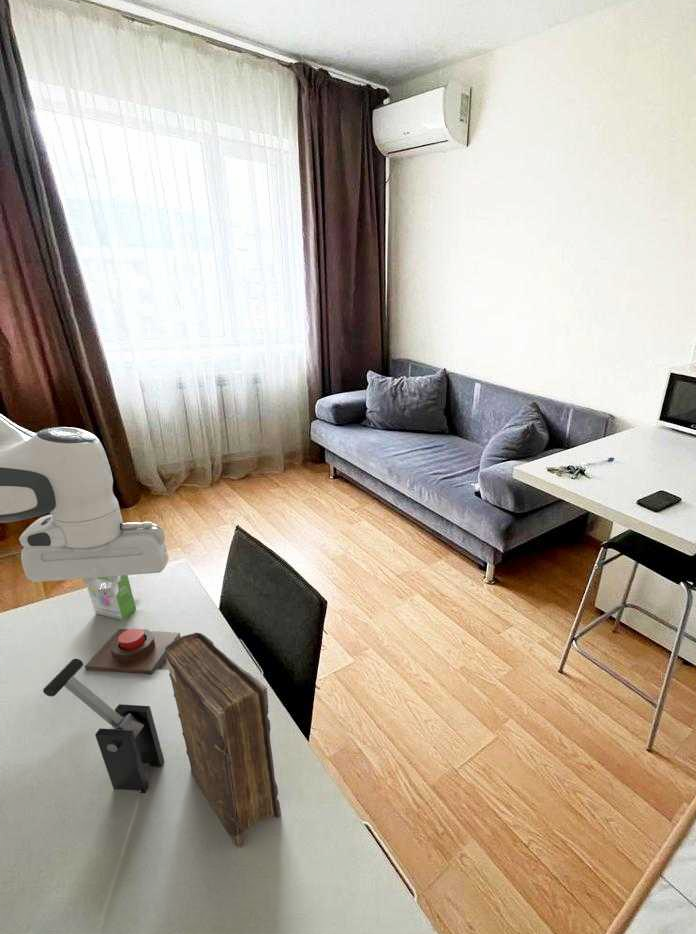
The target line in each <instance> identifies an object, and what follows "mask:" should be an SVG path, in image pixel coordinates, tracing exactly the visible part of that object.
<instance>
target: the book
mask: <svg viewBox="0 0 696 934" xmlns="http://www.w3.org/2000/svg"><path fill="white" fill-rule="evenodd" d="M164 651H165V656H166V660H167V661H166V663H167V664H166V665H167V668H168V672H169V673H168V676H169V678H170V682H171V685H172V686H171V687H172V689H173V697H174V699H175V704H176V707H177V711H178V715H177V716H178V718H179V721H180V725H181V730H182V733H181V734H182V736H183V739H184V744H185V748H186V751H185V752H186V755H187V757H188V760H189V761H188V762H189V765H190V769H191V775H192V777H193V779H194V781H195V783H196V784H197V786H198V788H199V790H200V791H201V792H202V794H203V796H204V798H205V799H206V801H207V802H208V805H209V806H210V808H211V809H212V811H213V812H214V814H215V816H216V817H217V818H218V820H219V822H220V823H221V825H222V826H223V828H224V829H225V830H226V831H225V832H227V834H228V836H229V837H230V838H231V840H232V843H233V844H234V846H235V845H236V847H238V849H240V848H243V847H244V843H243V834H245V832H246V830H249V829H250V828H251V826H253V825H256V823H258V822H260V821H261V820H263V819H266V818H267V817H269V816H271V817H276V819H277V818H280V817H281V816H282V809H281V803H280V801H279V799H278V795H279V788H278V785H277V782H276V776H275V775H276V774H275V765H274V760H273V759H274V758H273V750H272V744H271V721H270V719H269V717H268V716H269V697H268V696H269V695H268V688H267V687H266V686H265V685H264V683H262V682H261V681H260V680H259V679H258V678H257V677H254V676H253V675H252V674H251V673H250V672H249V671H248V672H247V671H246V670H244V669H243V668H242V667H241V666H240V665H238V664H237V663H236V662H234V661H233V659H231V658H230V657H228V656H227V655H226V654H225V653H224V652H223V651H221V650H220V649H219V648H218V647H217V646H216V645H215V644H214V641H212V640H211V639H210V638H208V636H206V635H205V634H203V633H201V632H194V633H189V634H186V635H183V636H181V637H180V638H178V639H176V640H174V641H173V642H172V643H170V644H169V645H167V646H166V647H165V650H164Z"/></svg>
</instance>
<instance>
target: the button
mask: <svg viewBox="0 0 696 934" xmlns="http://www.w3.org/2000/svg"><path fill="white" fill-rule="evenodd" d="M129 629H130V630H127V631H125V632H123V633H122V634H121V635H120V636H119V638H118V640H119V644H120V647H121V649H123V650H131V649H134V648H137V647H139V646H141V645H142V644H143V643H144V642H145V637H144V633H143V630H141V629H142V628H137V627H136V628H129Z"/></svg>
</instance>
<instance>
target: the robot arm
mask: <svg viewBox="0 0 696 934" xmlns="http://www.w3.org/2000/svg"><path fill="white" fill-rule="evenodd" d="M113 486H114V478H113V474H112V469H111V465H110V463H109V459H108V457H107V453H106V451H105V448H104V446H103V444H102V442H101V441H100V439H99V438H98V437H97V435H95V434H93V433H92V432H89V431H87V430H85V429H81V428H77V427H67V426H57V427H51V428H50V427H48V428H44V429H41V430H39V431H37V432H33V431H31V430H29V429H26V428H25V427H22V426H20V425H18V424H16V423H15V422H13V421H12V420H10V419H9V418H7V417H6V416H4V415H3V414H1V413H0V524H7V523H15V522H19V521H24V520H28V519H29V520H30V519H33V518H37V517H39V518H38V519H36V520H34V522H32V523H31V524H30V525H29V526H28V527H27V528H26V529H24V531H23V532H22V533H21V535H20V536H19V538H18V540H19V543H20V545H21V546H22V547H23V548H22V550H21V552H20V559H21V565H22V569H23V571H24V572H23V573H24V575H25V577H26V578H27V579H28V580H30V581H31V582H34V583H40V582H52V581H67V580H79V579H83V583H84V584H85V585H86V584H87V585H88V586H89V587H90V588H92V589H93V590H95V594H96V597H107V596H116V595H117V594H118V592H119V588H118V584H117V583H118V581H119V579H120V577H121V576H122V575H128V576H132V575H133V576H134V575H147V574H160V573H162V572H163V571H164V569H166V567H167V565H168V562H169V559H170V558H169V553H168V550H167V547H166V544H165V538H166V537H165V533H164V529H163V528H162V527H161V526H160V525H158V524H155V523H153V522H151V521H144V522H123V521H124V520H123V517H122V513H121V508H120V504H119V500H118V498H117V497H116V496H115V494H114V491H113ZM96 577H109V580H110V581H113V582H112V583H104V584H102V582H101V581H100V580H99V579H98V578H96ZM87 585H86V586H87Z"/></svg>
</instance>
